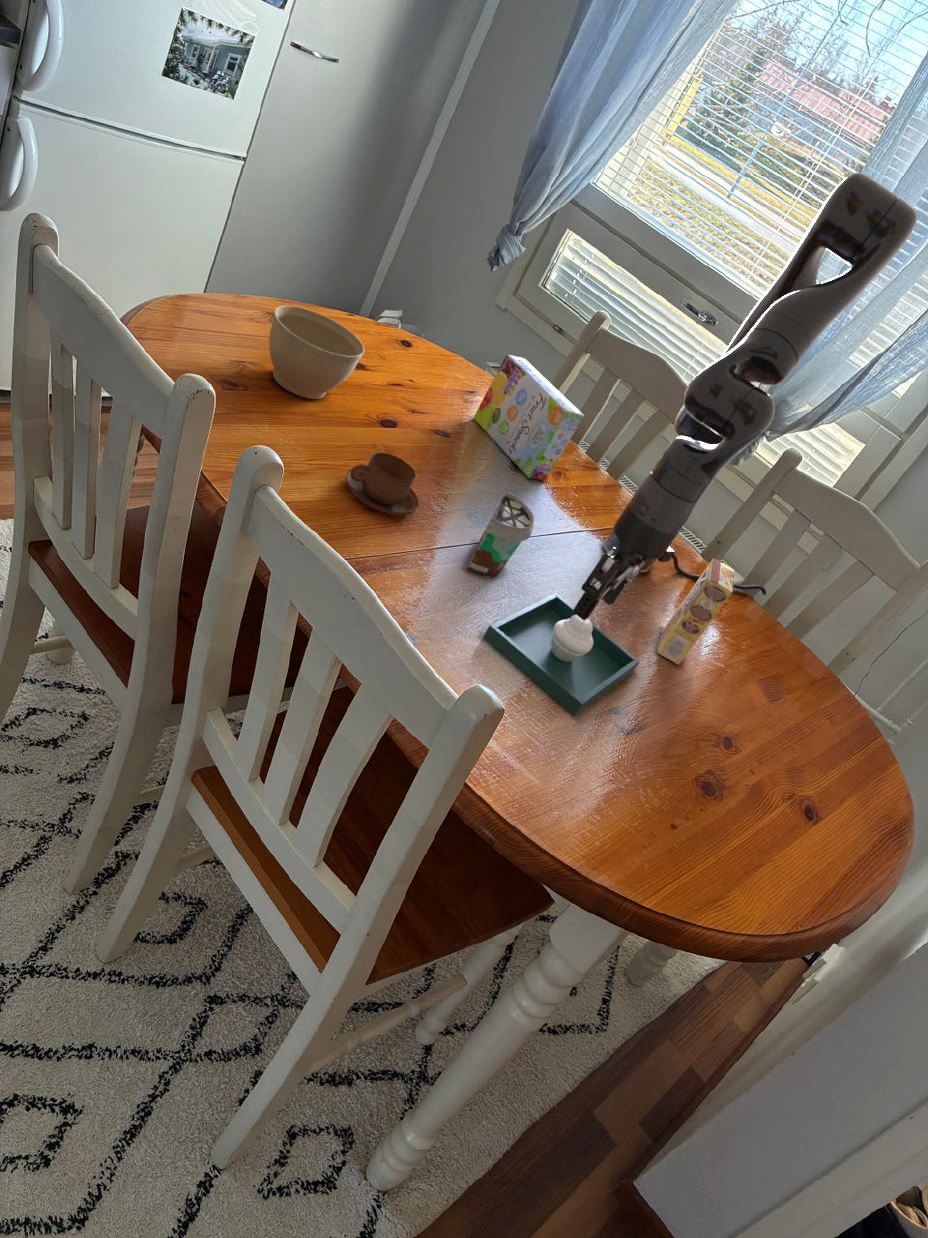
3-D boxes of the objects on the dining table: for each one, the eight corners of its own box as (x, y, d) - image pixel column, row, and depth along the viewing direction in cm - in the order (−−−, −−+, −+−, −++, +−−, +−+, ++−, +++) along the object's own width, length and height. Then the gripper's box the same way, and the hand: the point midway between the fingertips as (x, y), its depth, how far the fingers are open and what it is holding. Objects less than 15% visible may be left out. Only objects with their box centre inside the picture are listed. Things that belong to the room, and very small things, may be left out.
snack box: (548, 481, 183) (586, 415, 175) (527, 479, 179) (566, 411, 171) (491, 420, 194) (525, 356, 186) (471, 417, 190) (504, 351, 183)
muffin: (553, 667, 131) (578, 631, 127) (535, 637, 135) (559, 601, 131) (586, 670, 135) (612, 635, 131) (568, 641, 139) (592, 606, 135)
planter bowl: (335, 422, 161) (359, 366, 155) (245, 382, 157) (266, 323, 151) (347, 388, 174) (369, 335, 168) (264, 350, 170) (284, 295, 165)
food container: (501, 593, 141) (532, 541, 136) (464, 574, 141) (494, 521, 135) (512, 557, 152) (542, 508, 146) (478, 540, 151) (507, 489, 146)
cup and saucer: (370, 524, 140) (386, 490, 136) (328, 476, 145) (342, 442, 142) (427, 521, 148) (444, 489, 145) (385, 476, 154) (400, 444, 151)
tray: (548, 603, 145) (555, 592, 144) (631, 672, 140) (640, 661, 139) (482, 637, 129) (489, 625, 128) (573, 716, 125) (582, 704, 123)
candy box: (678, 666, 148) (734, 593, 141) (655, 653, 149) (710, 579, 141) (682, 641, 156) (736, 570, 148) (660, 628, 156) (713, 556, 148)
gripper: (658, 541, 115) (591, 639, 123) (697, 522, 126) (633, 612, 135) (611, 505, 117) (548, 603, 125) (653, 490, 129) (593, 580, 137)
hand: (592, 608), depth 130 cm, fingers open, 8 cm apart
